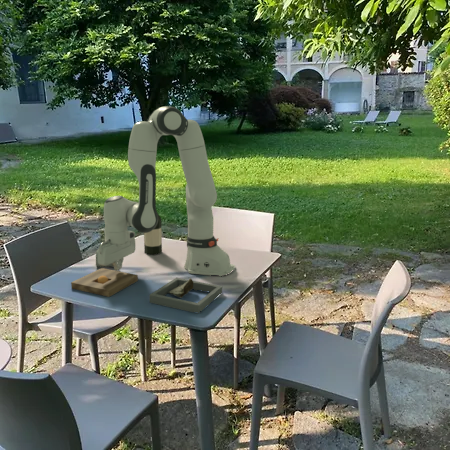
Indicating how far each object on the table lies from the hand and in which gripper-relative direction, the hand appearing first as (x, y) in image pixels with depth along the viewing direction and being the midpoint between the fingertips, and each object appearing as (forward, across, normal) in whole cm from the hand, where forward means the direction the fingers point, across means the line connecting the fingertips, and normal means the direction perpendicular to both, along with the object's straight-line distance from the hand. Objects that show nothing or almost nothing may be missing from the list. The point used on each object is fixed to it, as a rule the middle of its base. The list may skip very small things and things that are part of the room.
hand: (118, 269), depth 182 cm
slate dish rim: (+4, -5, -35) cm, 35 cm away
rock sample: (+4, -4, -31) cm, 31 cm away
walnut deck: (+4, -8, 0) cm, 9 cm away
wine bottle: (+4, +35, +6) cm, 36 cm away
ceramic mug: (+4, +10, +15) cm, 18 cm away
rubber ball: (+2, -9, 0) cm, 9 cm away
